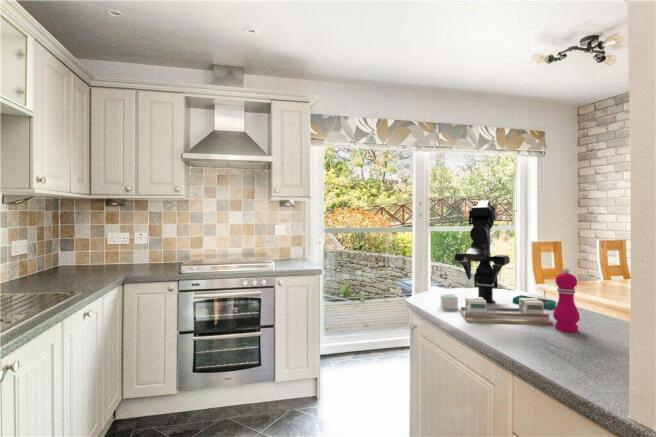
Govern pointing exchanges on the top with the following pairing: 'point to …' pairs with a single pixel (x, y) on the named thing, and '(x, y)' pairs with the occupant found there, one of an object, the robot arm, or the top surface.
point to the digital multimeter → (547, 303)
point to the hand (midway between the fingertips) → (481, 280)
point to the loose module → (449, 301)
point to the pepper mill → (566, 303)
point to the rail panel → (505, 312)
